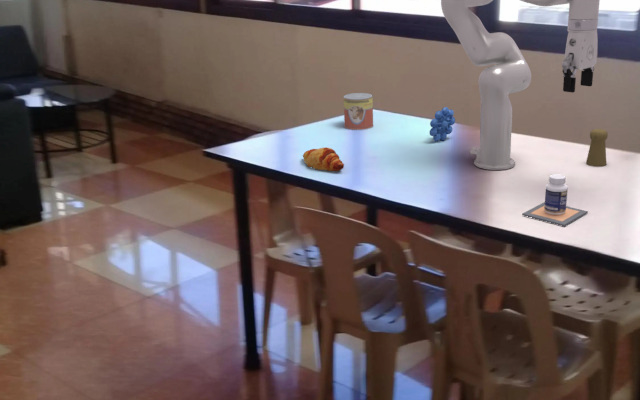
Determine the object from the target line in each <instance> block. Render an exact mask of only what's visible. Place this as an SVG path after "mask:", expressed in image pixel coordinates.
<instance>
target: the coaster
mask: <svg viewBox="0 0 640 400" xmlns="http://www.w3.org/2000/svg"><path fill="white" fill-rule="evenodd" d="M544 206H545V201H544V202H542V203H540V204H538V205H536V206H534V207H532V208H530V209H528V210H527V211H524V212H523V213H522V214H521V215H525V216H528V217H527V218H529V217H532V218H531V219H533V218H535V219H534V220H536V219H539V220H538V221H540V220H543V221H542V222H544V221H547V222H546V223H548V222H551V223H550V224H552V223H555V224H558V225H557V226H559V225H562V226H561V227H563V226H565V227H566V225H567V226H568V224H569V225H570V224H572V223H573V222H575V221H577V220H580V219H581V218H582V217H585V216H587V214H588V213H589V212H588V210H583V209H580V208H576V207H571V206H568V205H566V212H565V213H564V214H562V215H552V214H548V213H546V212H545V211H544ZM525 216H524V217H525ZM555 224H554V225H555Z"/></svg>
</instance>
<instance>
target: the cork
mask: <svg viewBox="0 0 640 400" xmlns="http://www.w3.org/2000/svg"><path fill="white" fill-rule="evenodd" d="M608 137H609V135H608V131H607V130H606V129H604V128H603V129H602V128H594V129H592V130H591V131H590V133H589V138H590V140H591V141H590V144H589V148H588V154H587V157H586V162H585V164H586V165H587V166H590V167H598V168H599V167H605V166H607V149H606V148H607V147H606V140H607V139H608Z"/></svg>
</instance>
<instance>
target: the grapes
mask: <svg viewBox="0 0 640 400" xmlns="http://www.w3.org/2000/svg"><path fill="white" fill-rule="evenodd" d="M454 115H455V112H454V110H453V109H449V107H447V106H445V107H442V109H441V110H437V111H436V112H435V113H434V118H433V119H431V120H430V122H429V126H430V127H431V128H430V130H429V135H430V136H431V137H432V139H433V141H434V142H438V141H445V140H446V139H447V137H448V135H451V134H452V132H453V129H454V128H453V127H452V126H454V125H455V123H456V118H455V117H454Z"/></svg>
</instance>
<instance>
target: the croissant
mask: <svg viewBox="0 0 640 400" xmlns="http://www.w3.org/2000/svg"><path fill="white" fill-rule="evenodd" d="M302 158H303V162H304V164H305V165H307V167H308V168H311V167H312V168H311V169H314V168H315V169H314V170H317V169H318V171H327V172H339V171H341V170H343V169H344V168H345V164H344V163H343V161H342V160H341V158H340V156H339V154H337V152H336V150H334V149H333V148H331V147H327V146H326V147H320V148H312V149H309V150H306V151H305V152H304V153H303V155H302Z"/></svg>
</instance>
